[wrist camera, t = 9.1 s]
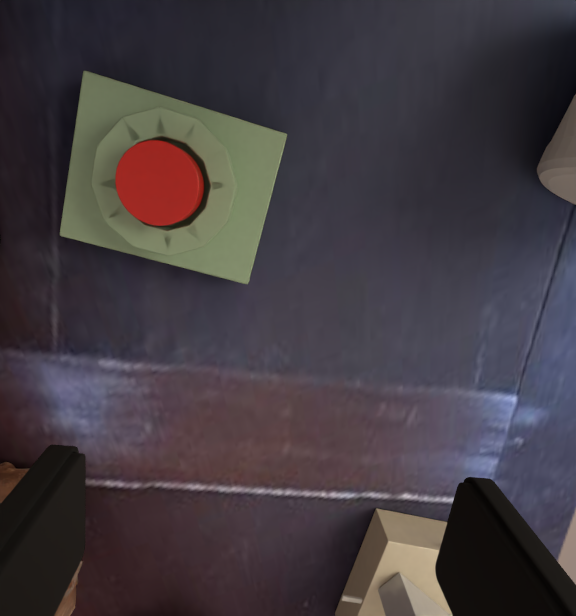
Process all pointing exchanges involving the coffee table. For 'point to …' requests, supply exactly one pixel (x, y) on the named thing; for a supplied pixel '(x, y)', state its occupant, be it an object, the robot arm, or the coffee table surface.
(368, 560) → the base
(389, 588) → the grey rectangular block
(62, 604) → the decorative rock
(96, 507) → the coffee table surface
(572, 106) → the mug
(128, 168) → the button
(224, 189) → the button box
